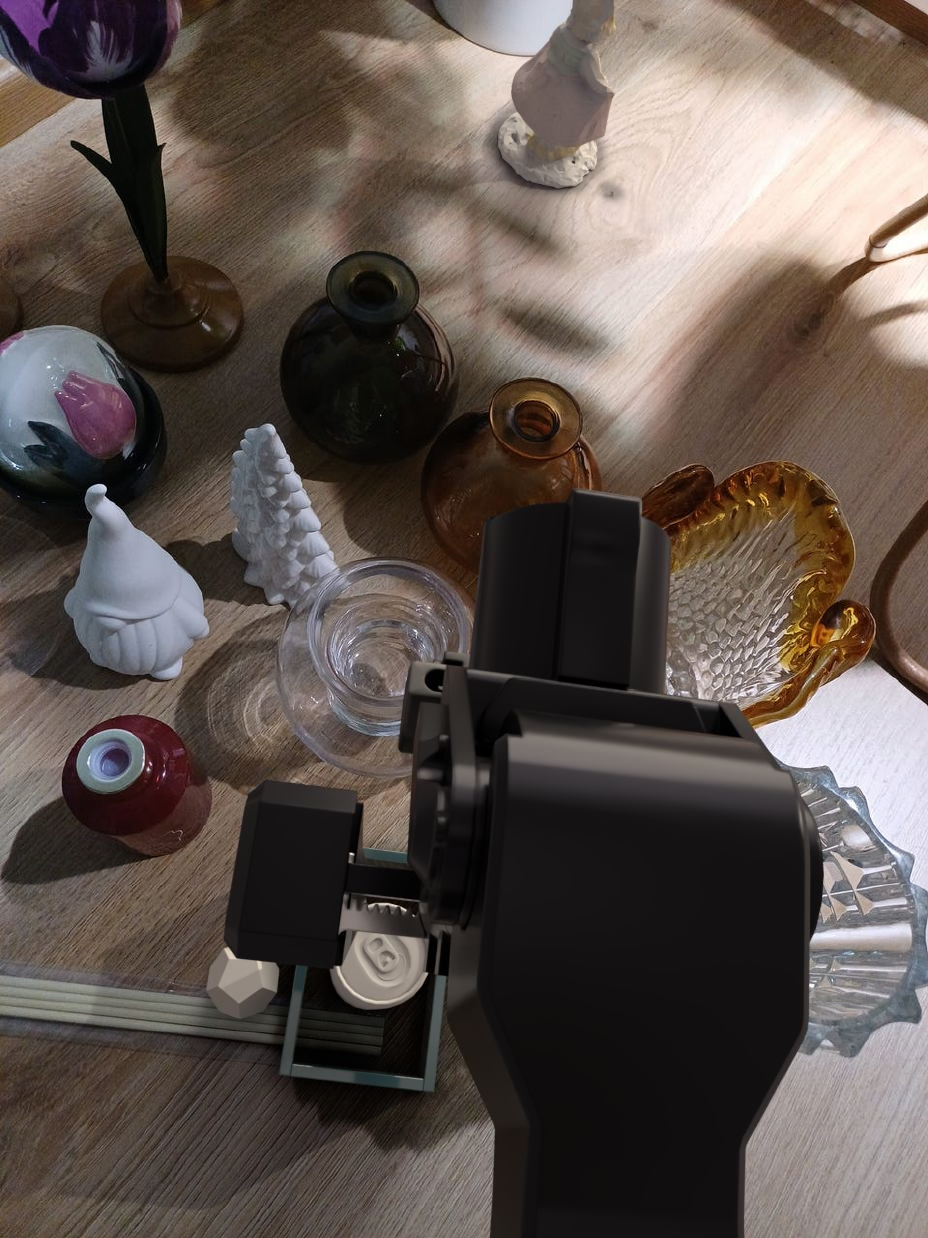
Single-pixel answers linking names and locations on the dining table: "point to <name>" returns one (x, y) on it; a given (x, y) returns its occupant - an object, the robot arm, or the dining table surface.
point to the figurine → (561, 101)
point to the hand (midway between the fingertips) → (465, 905)
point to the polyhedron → (241, 984)
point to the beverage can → (380, 969)
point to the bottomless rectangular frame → (361, 1076)
